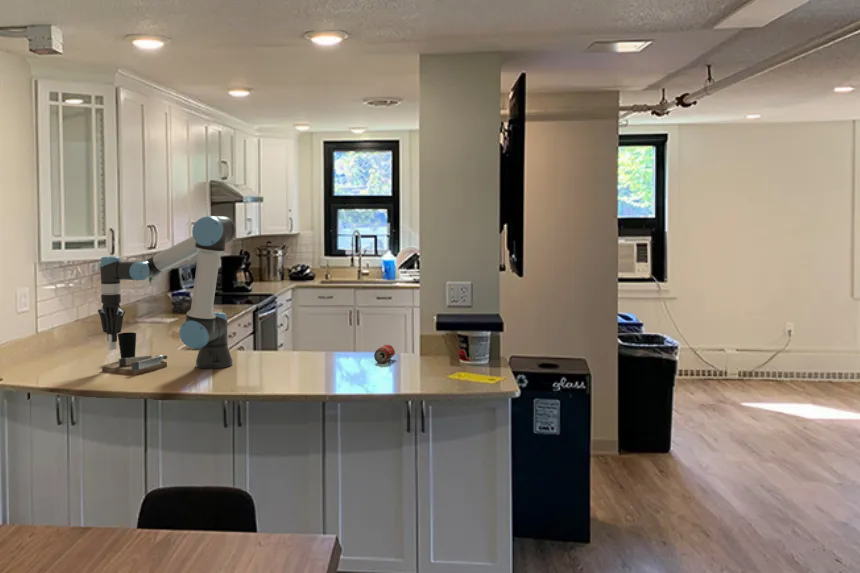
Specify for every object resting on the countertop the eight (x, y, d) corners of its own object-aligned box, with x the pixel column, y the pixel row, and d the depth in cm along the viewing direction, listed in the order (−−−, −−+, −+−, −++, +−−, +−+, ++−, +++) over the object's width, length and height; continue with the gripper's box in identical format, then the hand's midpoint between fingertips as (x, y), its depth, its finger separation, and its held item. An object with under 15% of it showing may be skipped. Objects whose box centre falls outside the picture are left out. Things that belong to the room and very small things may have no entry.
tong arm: (151, 362, 320) (151, 355, 320) (119, 366, 313) (119, 359, 312) (151, 362, 321) (150, 355, 321) (119, 365, 314) (118, 358, 313)
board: (167, 366, 323) (166, 362, 322) (135, 375, 306) (134, 370, 306) (135, 363, 330) (134, 358, 330) (102, 371, 313) (101, 366, 313)
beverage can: (372, 364, 328) (372, 349, 327) (380, 358, 339) (379, 344, 339) (388, 364, 326) (388, 349, 326) (395, 359, 338) (395, 344, 337)
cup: (130, 362, 332) (129, 335, 331) (115, 361, 334) (114, 334, 332) (140, 359, 340) (139, 332, 338) (125, 358, 341) (124, 332, 340)
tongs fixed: (169, 361, 324) (169, 354, 323) (134, 370, 305) (134, 363, 305) (162, 360, 325) (162, 353, 325) (127, 369, 307) (127, 362, 307)
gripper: (129, 293, 315) (131, 349, 317) (106, 291, 320) (108, 346, 323) (115, 295, 308) (117, 352, 310) (92, 293, 313) (93, 349, 316)
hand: (112, 349), depth 317 cm, fingers closed
